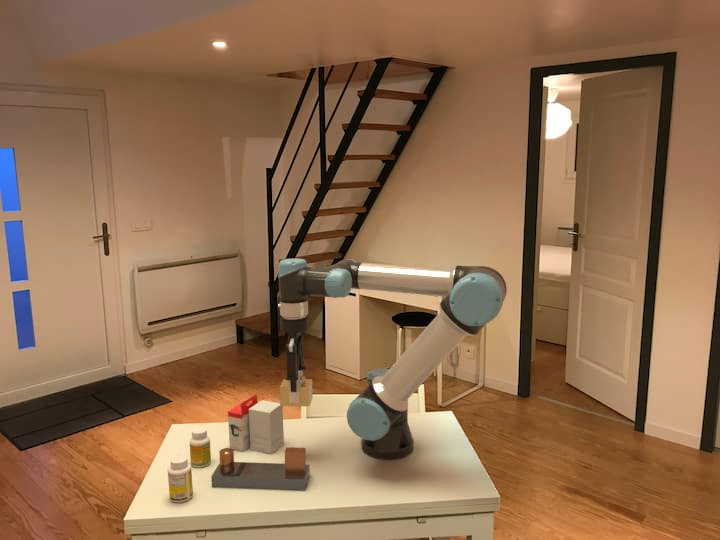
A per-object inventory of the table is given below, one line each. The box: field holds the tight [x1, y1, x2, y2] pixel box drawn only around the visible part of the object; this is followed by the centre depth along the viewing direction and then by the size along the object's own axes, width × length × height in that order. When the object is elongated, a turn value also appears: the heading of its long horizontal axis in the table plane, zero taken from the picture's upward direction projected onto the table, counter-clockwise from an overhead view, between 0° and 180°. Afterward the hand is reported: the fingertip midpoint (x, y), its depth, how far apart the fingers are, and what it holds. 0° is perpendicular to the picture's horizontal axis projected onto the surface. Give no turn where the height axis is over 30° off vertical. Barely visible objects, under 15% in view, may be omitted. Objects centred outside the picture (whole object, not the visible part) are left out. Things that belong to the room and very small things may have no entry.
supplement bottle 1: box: [167, 454, 194, 503], centre depth 144 cm, size 6×6×10 cm
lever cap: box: [279, 375, 313, 407], centre depth 162 cm, size 8×6×7 cm
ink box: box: [227, 393, 259, 452], centre depth 172 cm, size 8×5×15 cm, turn 155°
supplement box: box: [248, 399, 285, 455], centre depth 171 cm, size 7×7×13 cm
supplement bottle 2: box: [189, 426, 212, 469], centre depth 161 cm, size 5×5×10 cm
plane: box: [210, 446, 311, 492], centre depth 152 cm, size 24×8×9 cm, turn 86°
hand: (296, 397), depth 163 cm, fingers closed on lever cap, 6 cm apart
